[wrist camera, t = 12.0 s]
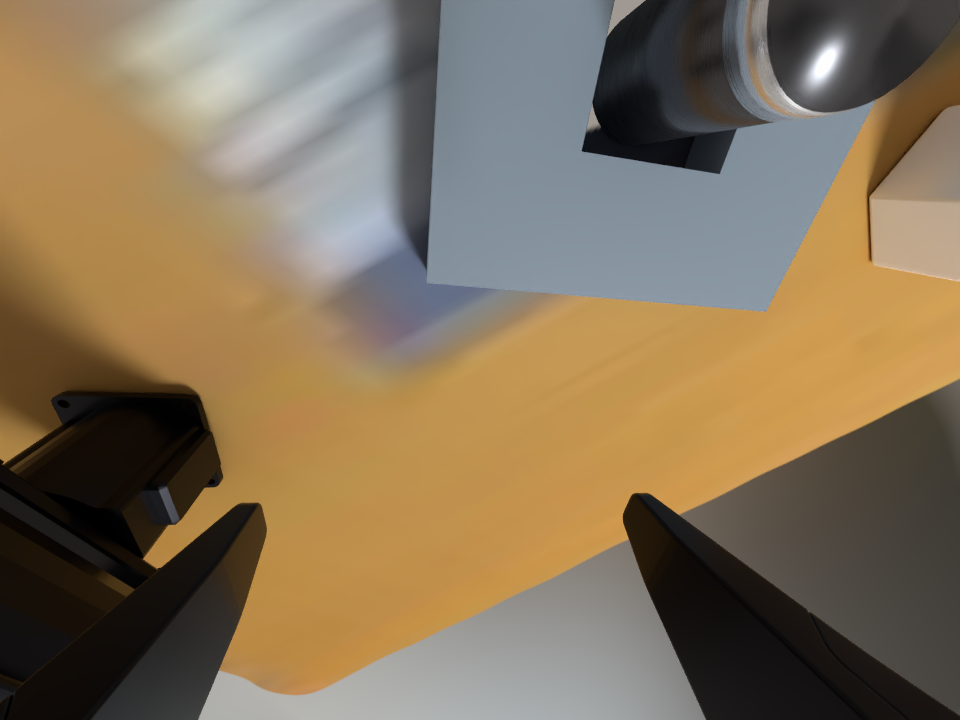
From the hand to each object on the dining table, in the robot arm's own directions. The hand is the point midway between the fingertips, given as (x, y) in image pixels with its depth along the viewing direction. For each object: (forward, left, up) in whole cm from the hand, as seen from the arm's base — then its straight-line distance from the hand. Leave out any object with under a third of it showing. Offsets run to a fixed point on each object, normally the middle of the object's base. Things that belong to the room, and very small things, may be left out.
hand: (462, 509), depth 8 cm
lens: (+8, +12, -12) cm, 19 cm away
